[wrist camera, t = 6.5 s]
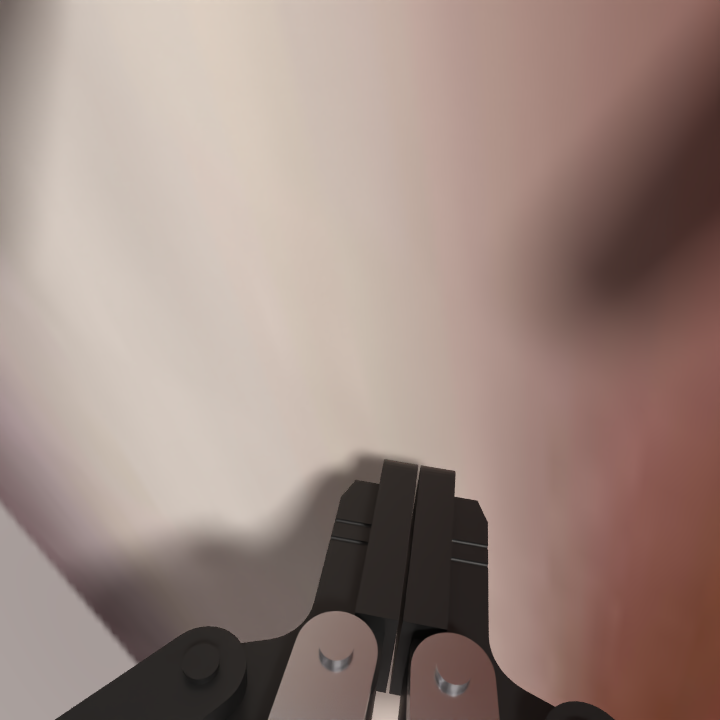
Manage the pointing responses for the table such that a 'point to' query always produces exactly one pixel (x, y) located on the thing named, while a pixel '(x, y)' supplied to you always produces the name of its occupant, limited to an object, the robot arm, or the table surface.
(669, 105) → the table surface
